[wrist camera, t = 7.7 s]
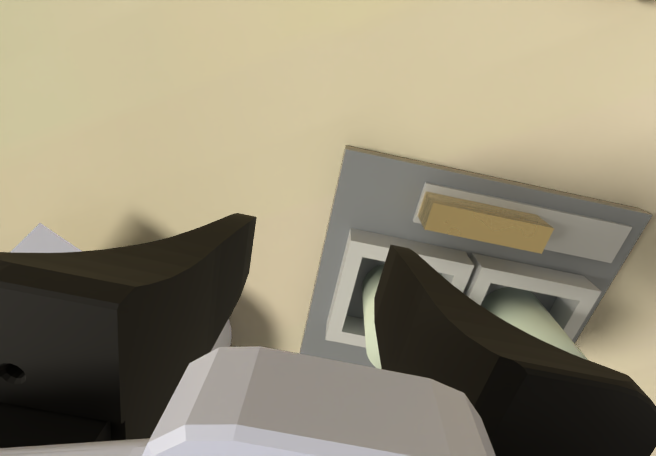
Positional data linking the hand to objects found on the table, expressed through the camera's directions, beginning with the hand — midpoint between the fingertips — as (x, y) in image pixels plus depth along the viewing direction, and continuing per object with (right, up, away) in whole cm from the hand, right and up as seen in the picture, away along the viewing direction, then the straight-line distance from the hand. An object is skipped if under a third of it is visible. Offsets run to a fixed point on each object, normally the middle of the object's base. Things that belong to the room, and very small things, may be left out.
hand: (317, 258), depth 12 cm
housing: (+8, -3, +11) cm, 14 cm away
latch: (+8, +2, +8) cm, 11 cm away
